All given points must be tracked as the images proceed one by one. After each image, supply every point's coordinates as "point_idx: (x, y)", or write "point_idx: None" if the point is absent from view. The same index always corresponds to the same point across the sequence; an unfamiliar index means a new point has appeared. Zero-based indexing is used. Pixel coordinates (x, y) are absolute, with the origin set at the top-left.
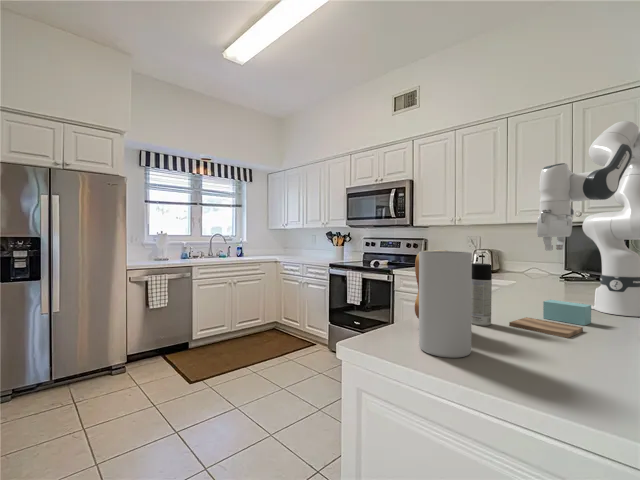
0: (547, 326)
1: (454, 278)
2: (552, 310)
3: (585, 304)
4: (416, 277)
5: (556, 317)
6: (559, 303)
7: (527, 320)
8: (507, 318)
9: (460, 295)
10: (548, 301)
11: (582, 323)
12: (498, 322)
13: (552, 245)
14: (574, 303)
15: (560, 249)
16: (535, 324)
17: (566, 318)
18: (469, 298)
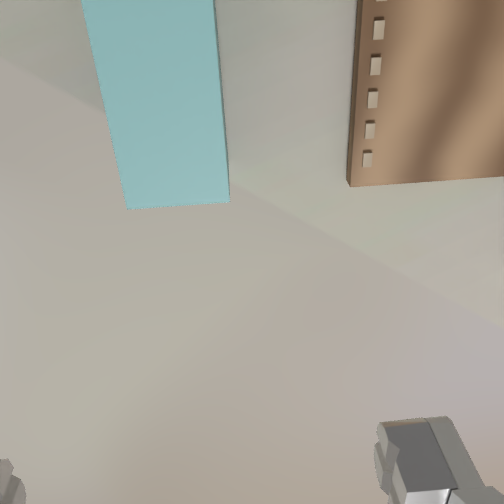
0: (489, 35)
1: None
2: (225, 139)
3: (92, 5)
4: None
5: (223, 108)
6: (217, 121)
7: (421, 151)
8: (366, 241)
9: None
10: (206, 186)
11: None
12: (474, 222)
13: (421, 488)
14: (126, 67)
15: (9, 466)
16: (484, 89)
17: (219, 59)
18: None
